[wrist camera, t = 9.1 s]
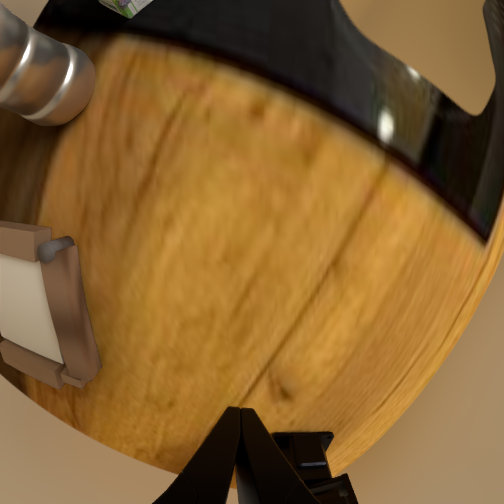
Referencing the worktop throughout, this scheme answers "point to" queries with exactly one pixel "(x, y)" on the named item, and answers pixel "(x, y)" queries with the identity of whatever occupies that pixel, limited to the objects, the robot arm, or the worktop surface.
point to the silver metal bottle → (41, 74)
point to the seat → (28, 308)
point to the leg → (69, 307)
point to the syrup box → (126, 6)
